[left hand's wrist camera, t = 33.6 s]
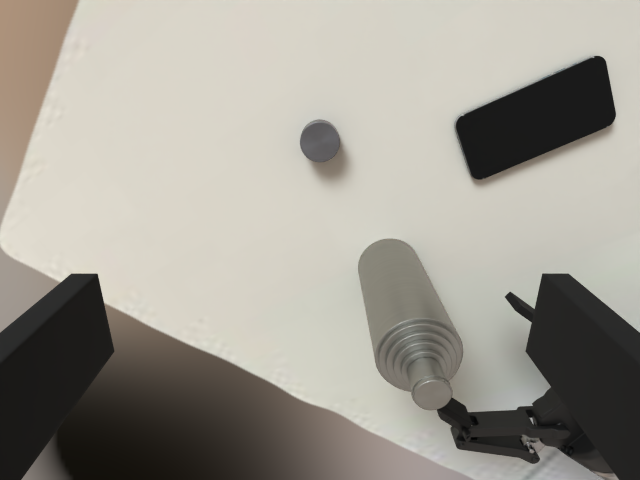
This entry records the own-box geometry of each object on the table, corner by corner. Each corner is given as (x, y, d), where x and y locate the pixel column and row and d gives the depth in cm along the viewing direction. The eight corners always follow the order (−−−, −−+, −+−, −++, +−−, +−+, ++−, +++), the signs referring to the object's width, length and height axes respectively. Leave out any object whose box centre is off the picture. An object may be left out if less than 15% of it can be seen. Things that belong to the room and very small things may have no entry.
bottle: (388, 304, 52) (431, 448, 32) (345, 269, 50) (362, 400, 30) (431, 263, 50) (504, 392, 30) (387, 226, 48) (434, 336, 28)
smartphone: (452, 118, 43) (604, 51, 41) (450, 118, 44) (600, 51, 41) (474, 183, 45) (618, 123, 43) (472, 181, 46) (613, 122, 44)
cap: (336, 159, 45) (337, 163, 43) (299, 156, 45) (298, 160, 43) (340, 121, 44) (341, 123, 42) (302, 118, 44) (301, 120, 42)
